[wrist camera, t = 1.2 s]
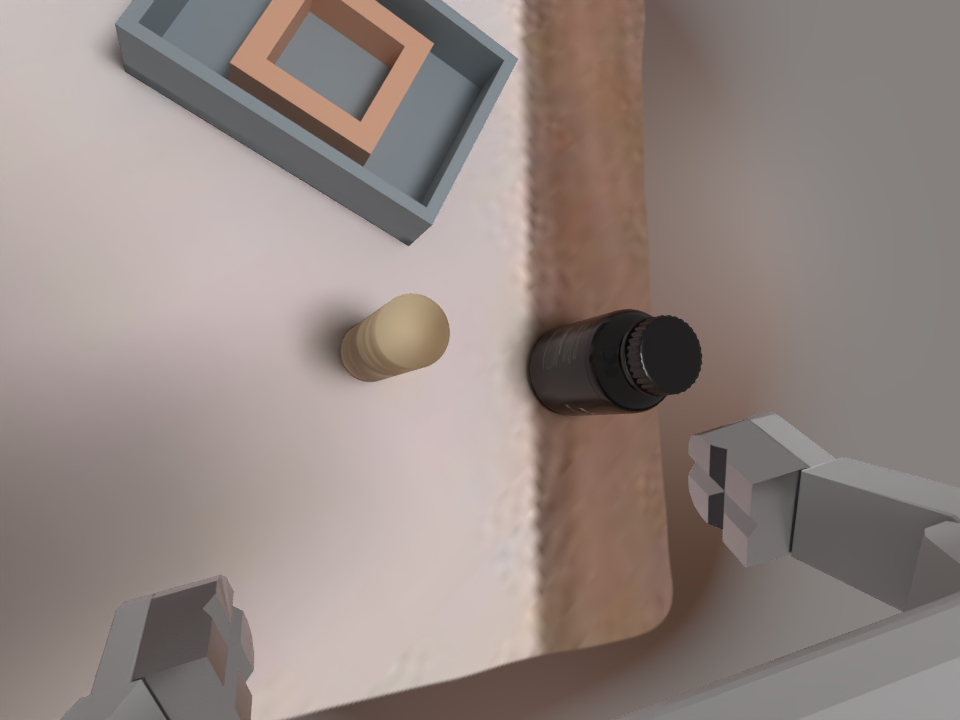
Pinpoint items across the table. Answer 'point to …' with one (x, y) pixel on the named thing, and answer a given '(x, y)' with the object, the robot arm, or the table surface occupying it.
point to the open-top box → (331, 90)
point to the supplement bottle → (615, 363)
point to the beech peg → (396, 339)
